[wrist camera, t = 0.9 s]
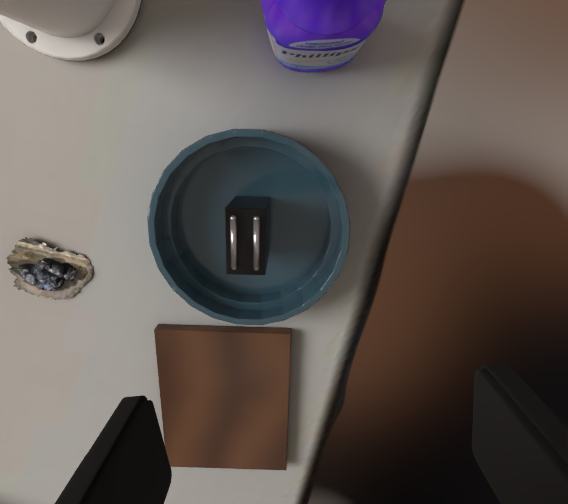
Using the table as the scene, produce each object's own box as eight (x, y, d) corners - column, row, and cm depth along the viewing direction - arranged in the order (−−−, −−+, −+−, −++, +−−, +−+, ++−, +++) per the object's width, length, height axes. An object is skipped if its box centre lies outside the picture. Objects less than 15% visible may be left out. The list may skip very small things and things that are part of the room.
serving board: (169, 458, 44) (166, 466, 43) (157, 323, 39) (153, 329, 38) (286, 461, 44) (286, 470, 43) (291, 327, 39) (291, 333, 37)
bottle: (272, 78, 31) (253, 15, 15) (266, 1, 30) (237, -168, 13) (358, 71, 31) (436, -1, 15) (357, -7, 29) (444, -190, 13)
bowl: (169, 303, 38) (156, 322, 34) (156, 127, 33) (138, 126, 29) (336, 308, 38) (341, 327, 34) (349, 132, 33) (357, 132, 29)
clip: (236, 252, 36) (225, 276, 30) (235, 195, 34) (223, 209, 28) (269, 253, 36) (264, 277, 30) (269, 196, 34) (265, 210, 28)
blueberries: (5, 236, 36) (-10, 241, 34) (86, 233, 36) (75, 238, 34) (23, 299, 38) (10, 307, 36) (99, 296, 38) (90, 304, 36)
